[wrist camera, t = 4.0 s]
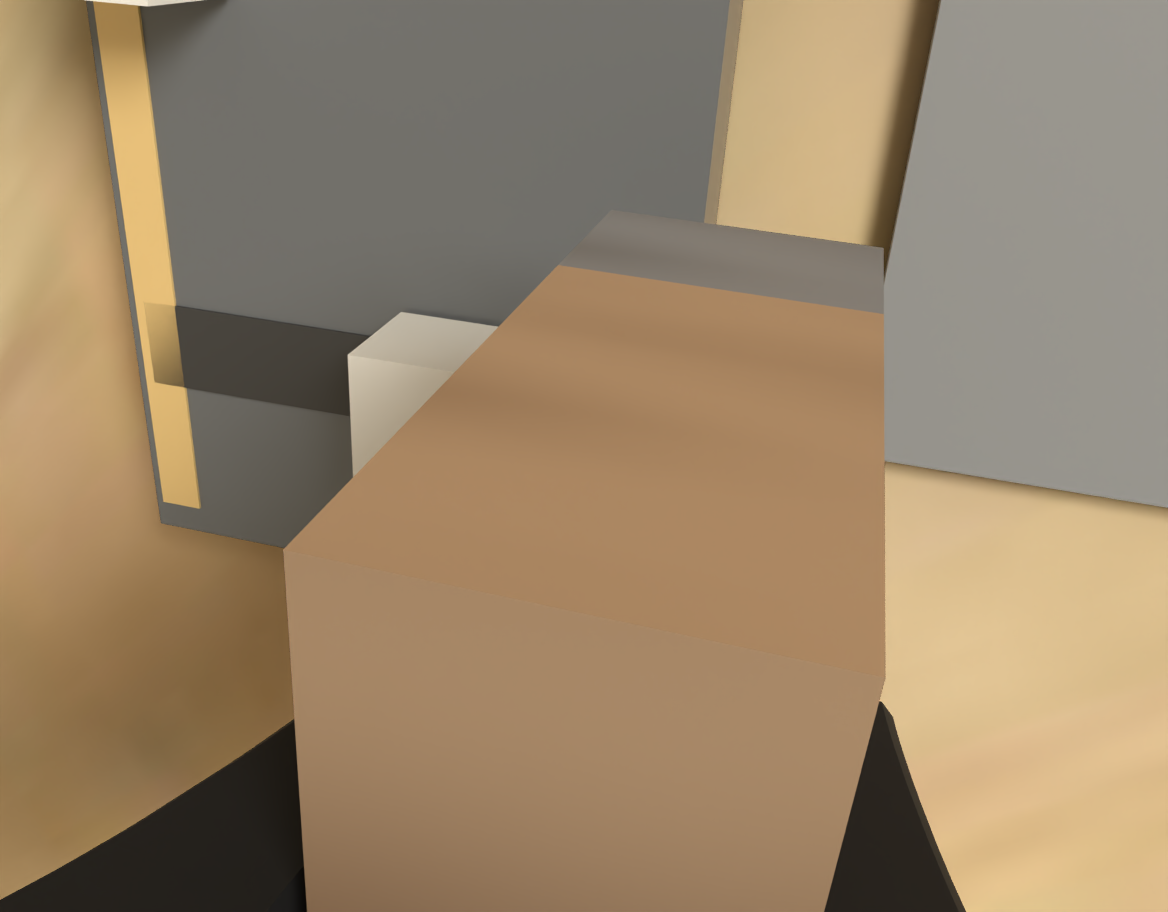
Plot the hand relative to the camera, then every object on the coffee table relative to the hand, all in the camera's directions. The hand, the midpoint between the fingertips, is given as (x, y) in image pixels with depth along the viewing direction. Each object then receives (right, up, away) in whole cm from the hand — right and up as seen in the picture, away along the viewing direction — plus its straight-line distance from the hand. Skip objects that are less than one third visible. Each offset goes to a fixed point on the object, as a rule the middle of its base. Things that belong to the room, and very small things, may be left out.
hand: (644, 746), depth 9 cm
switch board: (-3, +6, +8) cm, 10 cm away
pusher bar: (+1, +1, +2) cm, 3 cm away
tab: (-2, +3, +7) cm, 8 cm away
